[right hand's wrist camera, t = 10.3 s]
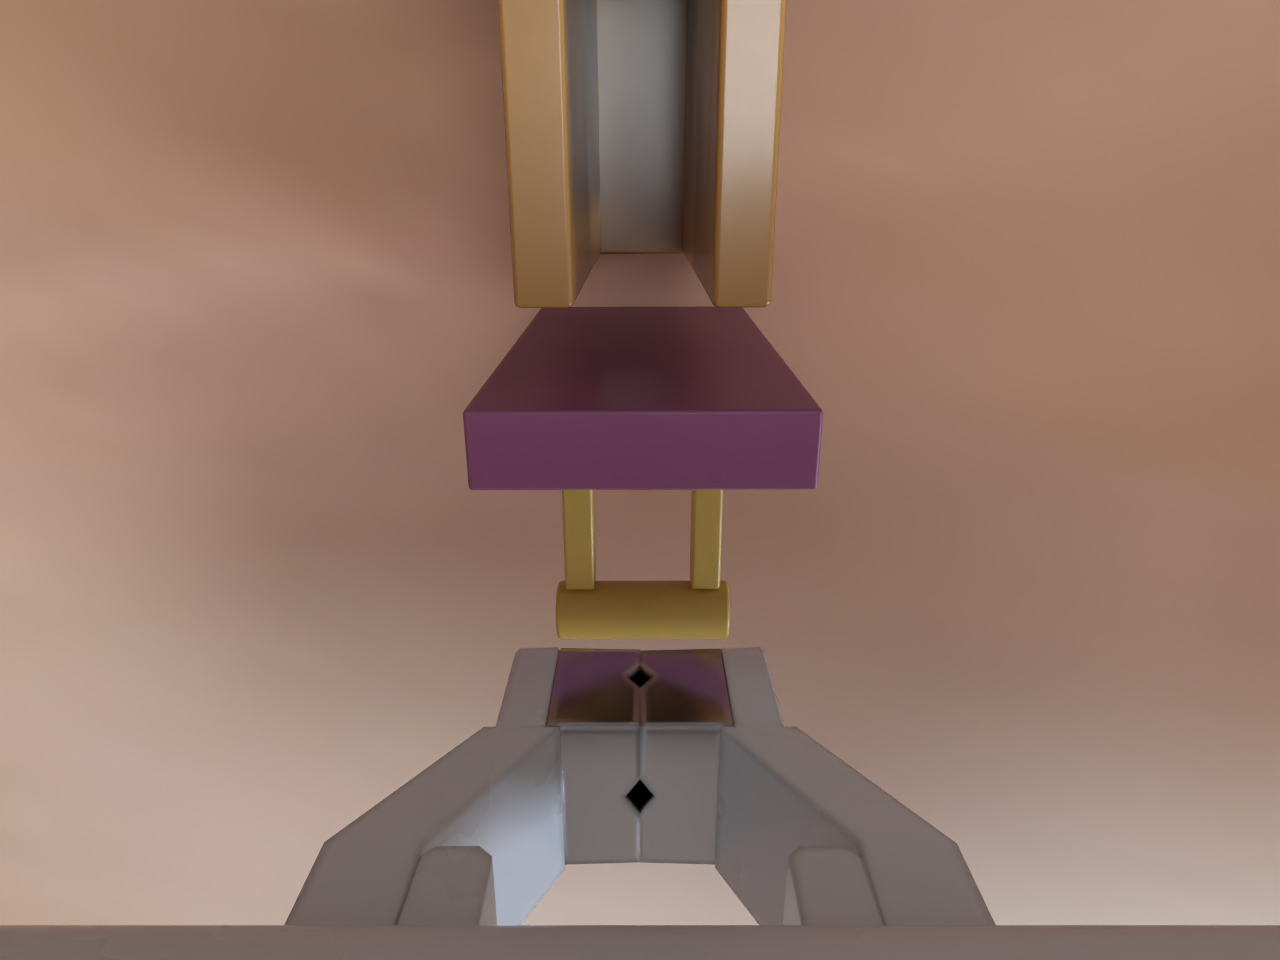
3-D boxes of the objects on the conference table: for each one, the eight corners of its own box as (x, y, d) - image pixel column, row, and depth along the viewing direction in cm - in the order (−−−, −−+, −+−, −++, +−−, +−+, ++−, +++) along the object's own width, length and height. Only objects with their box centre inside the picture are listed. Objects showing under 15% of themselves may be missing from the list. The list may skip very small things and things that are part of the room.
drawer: (733, 533, 23) (795, 774, 14) (551, 533, 23) (491, 774, 14) (781, -660, 15) (1012, -2044, 6) (499, -658, 15) (264, -2041, 6)
